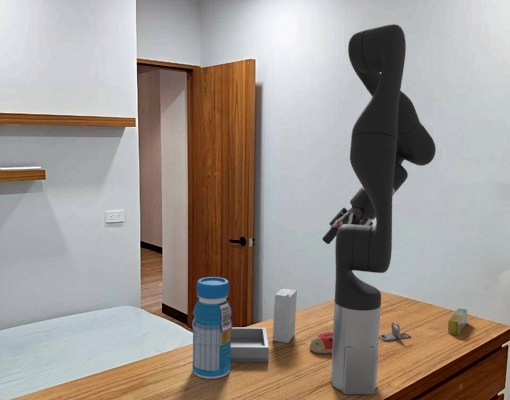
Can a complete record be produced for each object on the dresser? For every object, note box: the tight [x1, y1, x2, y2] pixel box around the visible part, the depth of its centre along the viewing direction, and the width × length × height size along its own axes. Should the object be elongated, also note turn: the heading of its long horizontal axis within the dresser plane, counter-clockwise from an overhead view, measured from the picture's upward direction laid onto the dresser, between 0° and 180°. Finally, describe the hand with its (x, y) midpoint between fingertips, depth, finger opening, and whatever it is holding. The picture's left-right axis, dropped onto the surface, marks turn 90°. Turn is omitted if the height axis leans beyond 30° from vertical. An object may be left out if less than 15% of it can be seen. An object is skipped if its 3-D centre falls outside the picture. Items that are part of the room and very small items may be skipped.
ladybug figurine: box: [309, 331, 333, 355], centre depth 119 cm, size 7×10×4 cm
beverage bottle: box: [191, 276, 233, 380], centre depth 104 cm, size 8×8×20 cm
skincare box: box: [272, 288, 298, 344], centre depth 124 cm, size 6×4×12 cm
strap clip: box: [379, 321, 412, 342], centre depth 127 cm, size 8×3×4 cm, turn 111°
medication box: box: [447, 308, 468, 336], centre depth 135 cm, size 12×3×4 cm, turn 146°
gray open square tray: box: [230, 326, 270, 363], centre depth 116 cm, size 12×12×4 cm
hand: (331, 246), depth 123 cm, fingers open, 8 cm apart
